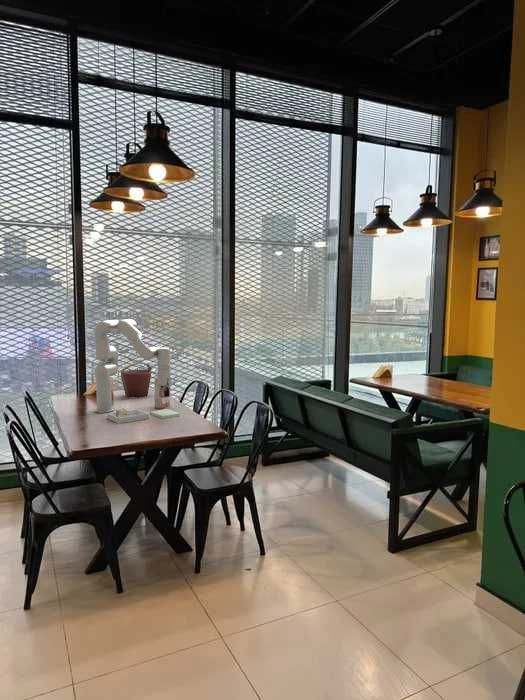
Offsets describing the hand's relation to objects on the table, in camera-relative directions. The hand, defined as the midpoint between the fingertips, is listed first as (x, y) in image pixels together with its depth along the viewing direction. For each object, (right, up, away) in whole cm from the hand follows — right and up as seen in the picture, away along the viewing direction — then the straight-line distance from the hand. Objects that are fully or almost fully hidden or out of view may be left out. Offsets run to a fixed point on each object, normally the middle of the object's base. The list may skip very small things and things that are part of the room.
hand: (164, 395), depth 313 cm
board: (0, -13, +1) cm, 13 cm away
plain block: (-24, -14, -11) cm, 30 cm away
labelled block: (0, -1, 0) cm, 1 cm away
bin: (-21, -14, -8) cm, 26 cm away
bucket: (-33, -6, +64) cm, 73 cm away
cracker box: (-7, -10, +27) cm, 30 cm away
